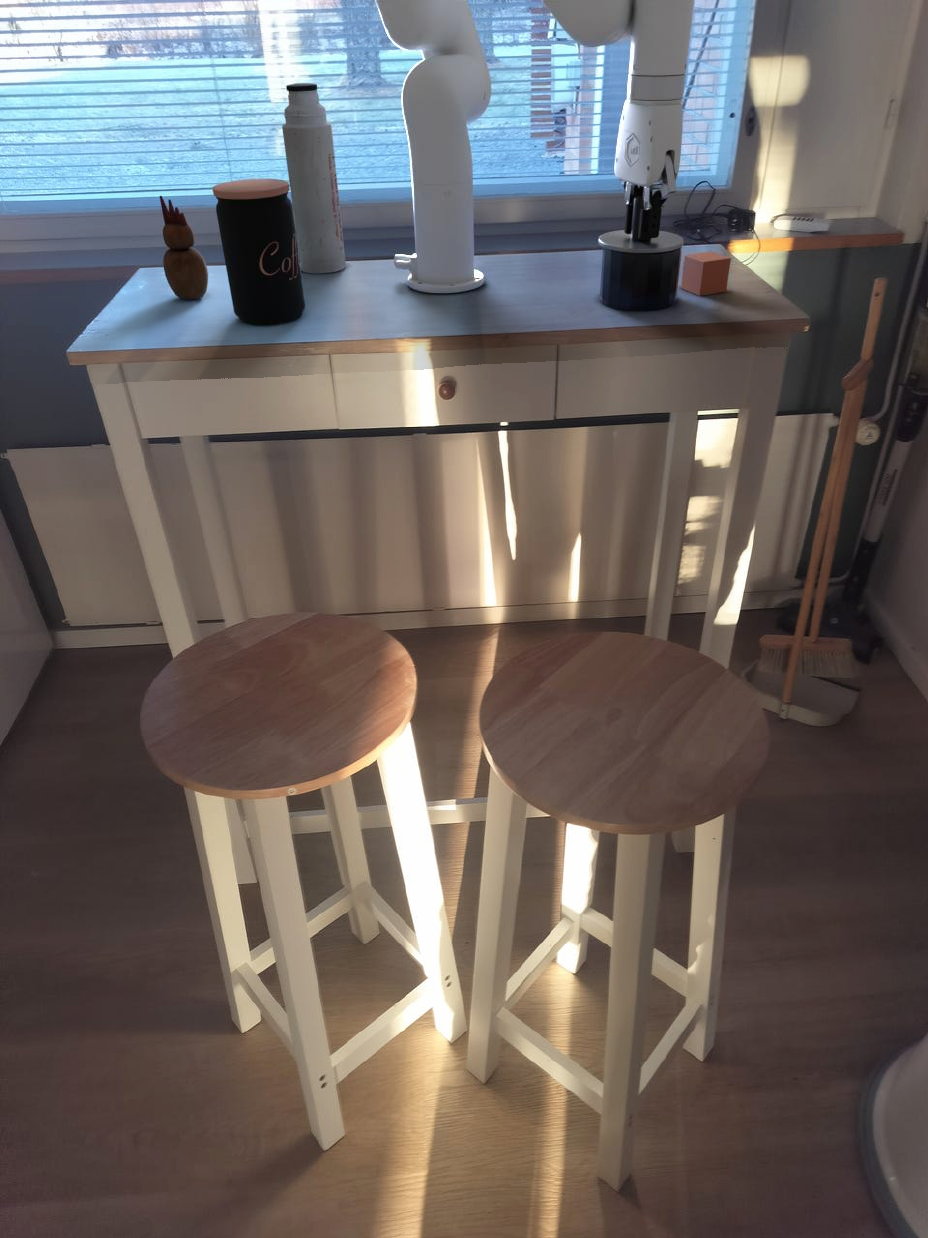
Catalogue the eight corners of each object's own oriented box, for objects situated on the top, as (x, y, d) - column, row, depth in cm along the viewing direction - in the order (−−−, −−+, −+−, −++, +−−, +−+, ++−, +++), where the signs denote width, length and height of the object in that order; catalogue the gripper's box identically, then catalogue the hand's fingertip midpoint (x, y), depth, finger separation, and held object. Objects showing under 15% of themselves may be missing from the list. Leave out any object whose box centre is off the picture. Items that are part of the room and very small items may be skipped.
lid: (590, 254, 126) (593, 204, 122) (606, 235, 135) (610, 188, 132) (676, 260, 123) (682, 208, 119) (687, 240, 132) (693, 191, 128)
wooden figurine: (164, 297, 141) (141, 196, 133) (194, 289, 145) (174, 190, 136) (187, 304, 138) (165, 201, 129) (218, 296, 141) (199, 195, 132)
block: (699, 295, 134) (703, 261, 131) (680, 288, 138) (684, 254, 135) (726, 291, 136) (731, 257, 133) (706, 283, 140) (711, 250, 137)
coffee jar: (273, 330, 126) (252, 194, 115) (220, 320, 130) (195, 188, 120) (320, 311, 133) (305, 181, 122) (268, 302, 138) (249, 176, 127)
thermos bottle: (351, 262, 157) (333, 80, 141) (337, 274, 151) (317, 85, 134) (309, 261, 158) (287, 81, 142) (294, 272, 152) (268, 85, 136)
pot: (593, 308, 131) (596, 252, 126) (608, 287, 139) (611, 234, 135) (669, 313, 127) (676, 256, 123) (680, 292, 136) (686, 237, 132)
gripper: (600, 86, 122) (591, 227, 133) (666, 96, 110) (650, 250, 121) (645, 84, 125) (633, 222, 135) (715, 93, 112) (695, 244, 123)
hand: (641, 234), depth 128 cm, fingers closed on lid, 3 cm apart
